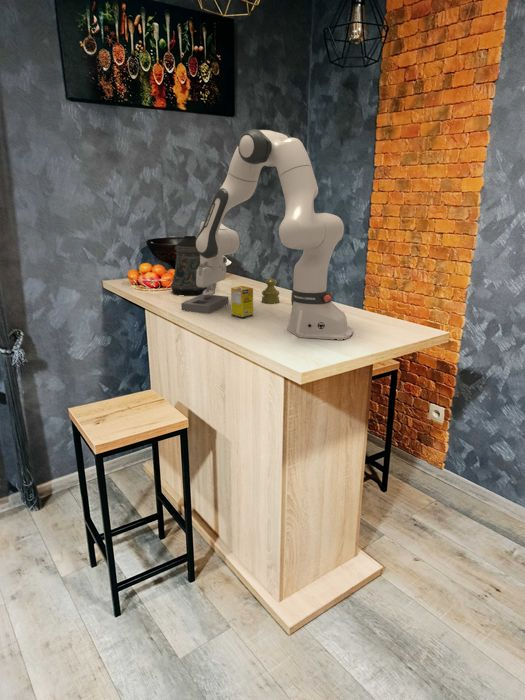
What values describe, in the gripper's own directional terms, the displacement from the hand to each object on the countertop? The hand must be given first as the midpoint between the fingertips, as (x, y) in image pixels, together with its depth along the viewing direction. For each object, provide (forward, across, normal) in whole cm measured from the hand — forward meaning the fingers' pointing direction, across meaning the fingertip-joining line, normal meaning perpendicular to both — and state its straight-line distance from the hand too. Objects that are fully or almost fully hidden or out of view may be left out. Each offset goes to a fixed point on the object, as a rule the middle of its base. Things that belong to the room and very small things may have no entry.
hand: (211, 294), depth 202 cm
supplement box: (+4, -12, -19) cm, 23 cm away
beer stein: (+4, +17, +19) cm, 26 cm away
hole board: (+4, -6, 0) cm, 7 cm away
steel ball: (-1, -3, 0) cm, 3 cm away
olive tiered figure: (+4, +14, -21) cm, 25 cm away
